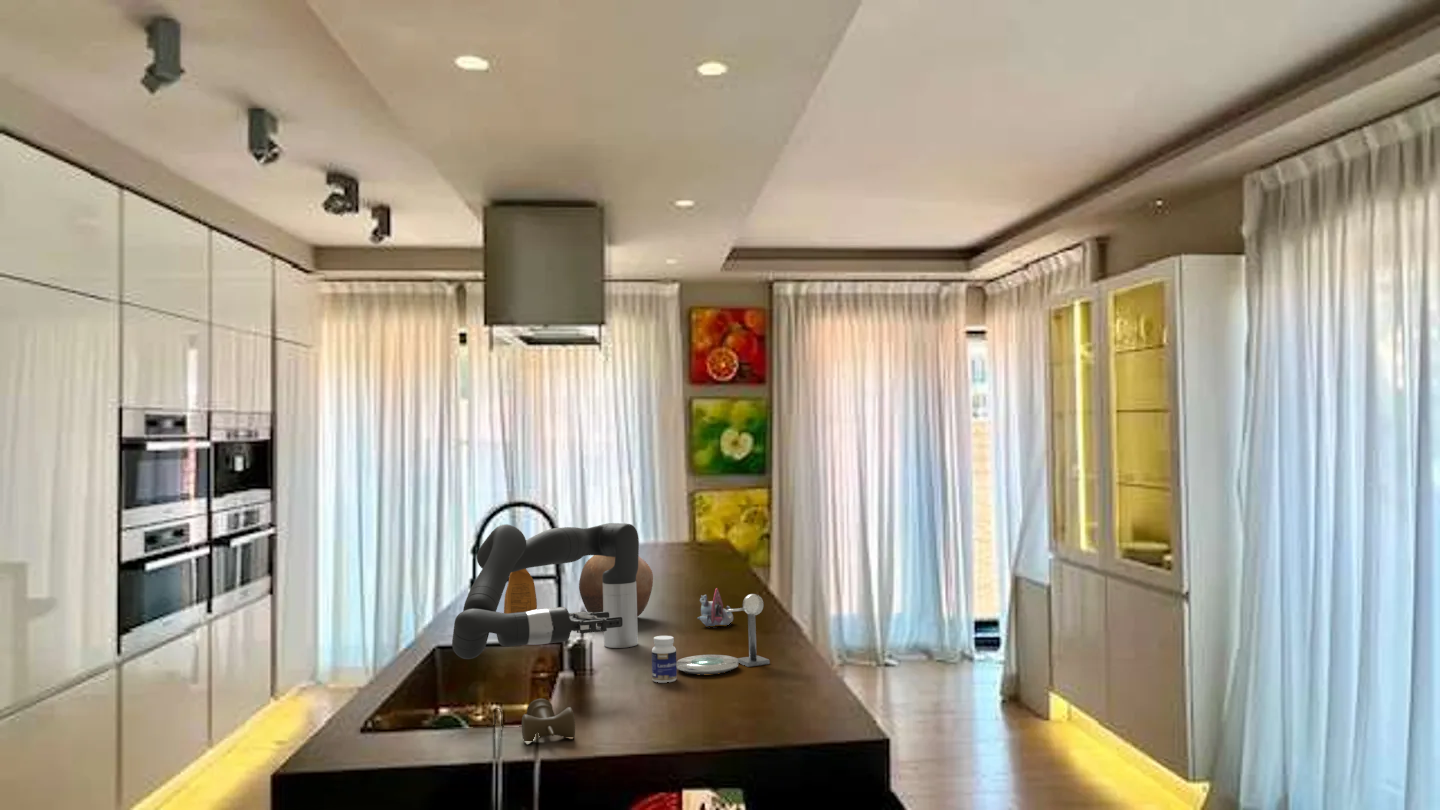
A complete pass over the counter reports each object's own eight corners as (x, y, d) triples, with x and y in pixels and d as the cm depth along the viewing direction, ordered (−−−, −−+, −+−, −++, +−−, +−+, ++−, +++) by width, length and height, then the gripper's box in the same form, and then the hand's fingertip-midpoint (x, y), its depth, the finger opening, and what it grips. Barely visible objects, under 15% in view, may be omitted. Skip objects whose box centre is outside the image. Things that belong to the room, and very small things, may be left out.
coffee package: (536, 622, 312) (535, 552, 313) (537, 629, 300) (535, 556, 301) (504, 624, 310) (502, 553, 311) (503, 631, 298) (502, 558, 299)
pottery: (590, 615, 322) (588, 537, 323) (660, 614, 319) (658, 536, 320) (570, 628, 300) (568, 545, 300) (645, 628, 296) (643, 544, 297)
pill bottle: (658, 684, 227) (657, 640, 227) (648, 679, 232) (647, 636, 232) (681, 681, 229) (679, 637, 230) (670, 676, 234) (669, 633, 235)
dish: (666, 667, 243) (666, 659, 243) (721, 660, 250) (721, 651, 250) (692, 680, 230) (692, 671, 230) (749, 671, 237) (749, 662, 237)
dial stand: (721, 664, 245) (719, 595, 246) (757, 659, 250) (755, 591, 250) (732, 669, 240) (730, 598, 240) (769, 663, 244) (767, 594, 245)
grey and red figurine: (734, 620, 291) (709, 587, 293) (706, 643, 293) (681, 610, 295) (743, 614, 302) (719, 582, 304) (716, 635, 304) (692, 604, 306)
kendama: (564, 722, 201) (580, 747, 182) (515, 729, 198) (526, 755, 179) (562, 692, 201) (578, 714, 182) (514, 698, 198) (525, 721, 179)
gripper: (537, 638, 225) (605, 631, 232) (555, 648, 212) (626, 640, 219) (536, 604, 225) (604, 598, 232) (554, 613, 212) (626, 606, 219)
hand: (615, 618), depth 226 cm, fingers open, 8 cm apart
